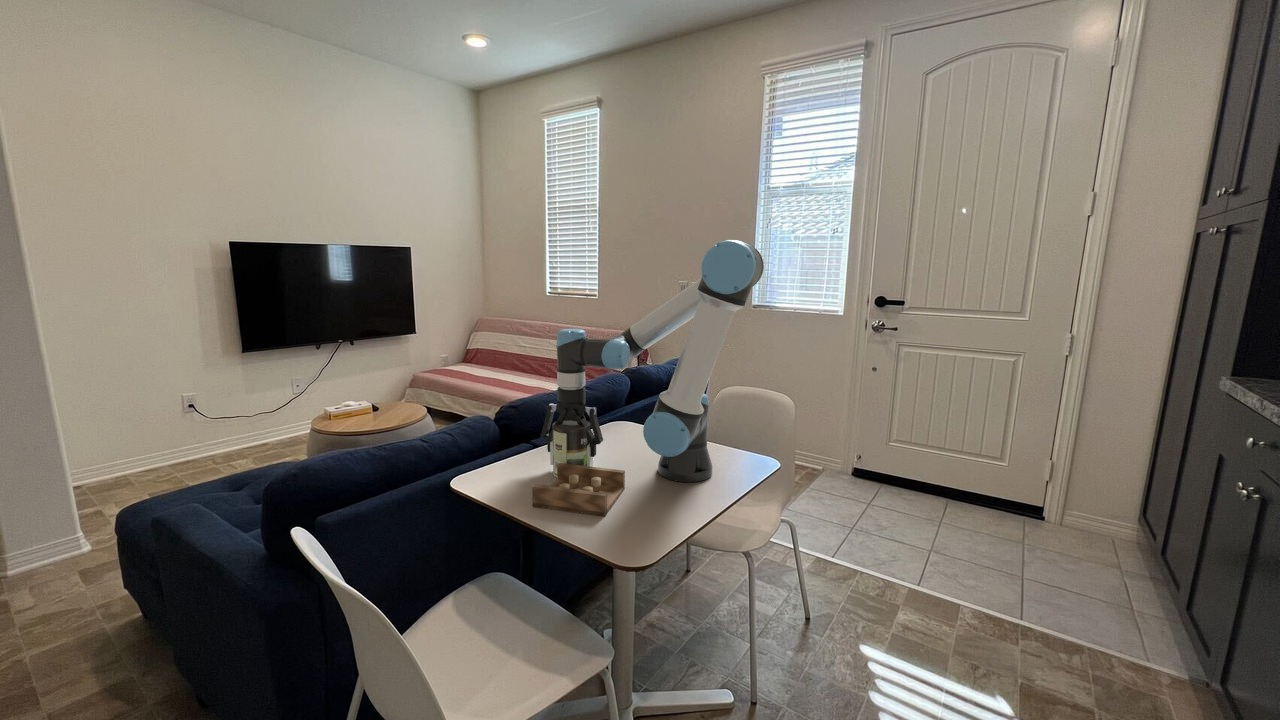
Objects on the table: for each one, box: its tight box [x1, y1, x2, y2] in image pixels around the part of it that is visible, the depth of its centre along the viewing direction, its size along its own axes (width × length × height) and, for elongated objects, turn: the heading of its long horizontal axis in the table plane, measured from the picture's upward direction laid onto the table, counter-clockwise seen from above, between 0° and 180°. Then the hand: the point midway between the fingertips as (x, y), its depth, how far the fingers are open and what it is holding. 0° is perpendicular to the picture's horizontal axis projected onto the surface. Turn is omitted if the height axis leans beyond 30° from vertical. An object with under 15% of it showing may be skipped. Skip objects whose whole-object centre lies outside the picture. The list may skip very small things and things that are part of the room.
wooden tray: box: [531, 463, 626, 518], centre depth 128 cm, size 18×16×5 cm
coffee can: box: [551, 420, 591, 478], centre depth 142 cm, size 10×10×14 cm
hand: (571, 465), depth 143 cm, fingers closed on coffee can, 10 cm apart
